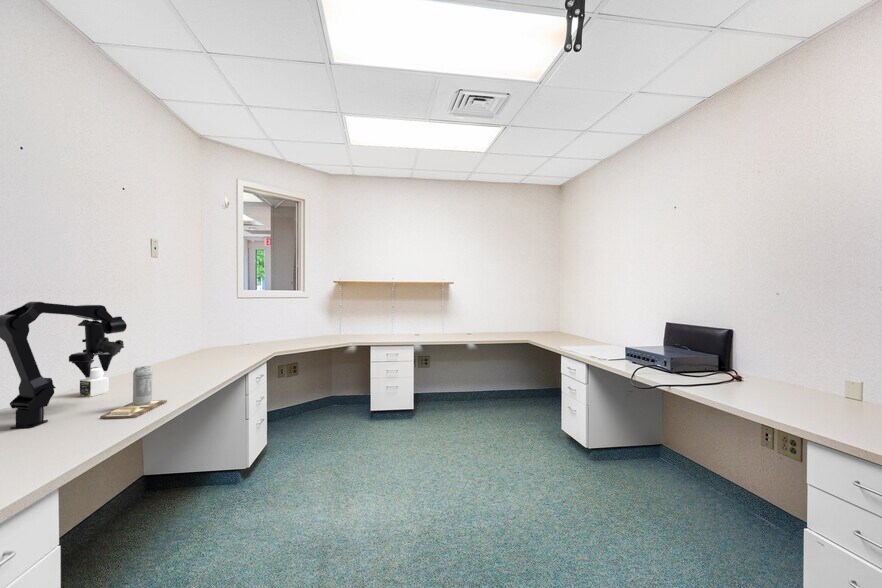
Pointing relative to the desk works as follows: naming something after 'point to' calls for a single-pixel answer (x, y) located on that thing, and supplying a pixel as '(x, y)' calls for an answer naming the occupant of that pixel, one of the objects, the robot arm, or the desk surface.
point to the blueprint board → (133, 410)
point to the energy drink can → (142, 385)
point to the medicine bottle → (94, 383)
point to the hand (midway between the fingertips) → (96, 374)
